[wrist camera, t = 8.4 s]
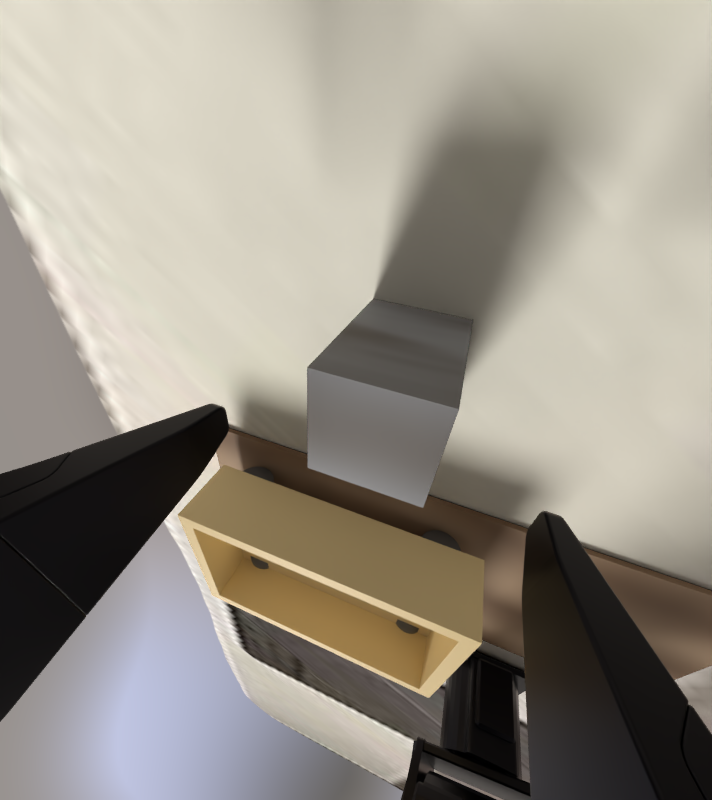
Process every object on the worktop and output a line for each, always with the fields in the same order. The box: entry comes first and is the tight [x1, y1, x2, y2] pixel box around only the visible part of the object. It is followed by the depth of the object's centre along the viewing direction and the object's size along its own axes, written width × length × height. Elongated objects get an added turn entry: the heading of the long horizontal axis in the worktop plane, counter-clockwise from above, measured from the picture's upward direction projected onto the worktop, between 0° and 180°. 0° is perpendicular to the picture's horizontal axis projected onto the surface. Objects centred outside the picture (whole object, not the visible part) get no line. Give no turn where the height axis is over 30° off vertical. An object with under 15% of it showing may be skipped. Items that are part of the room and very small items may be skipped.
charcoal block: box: [307, 299, 473, 508], centre depth 12 cm, size 4×4×6 cm
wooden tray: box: [178, 465, 484, 698], centre depth 21 cm, size 11×17×5 cm, turn 85°
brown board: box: [216, 428, 712, 680], centre depth 22 cm, size 14×32×1 cm, turn 85°
